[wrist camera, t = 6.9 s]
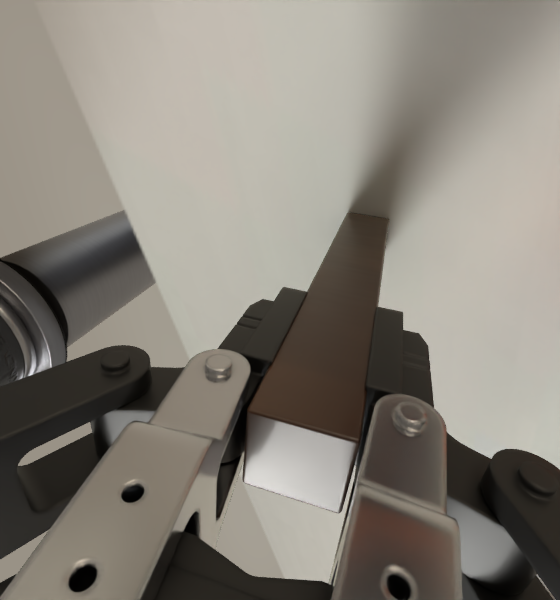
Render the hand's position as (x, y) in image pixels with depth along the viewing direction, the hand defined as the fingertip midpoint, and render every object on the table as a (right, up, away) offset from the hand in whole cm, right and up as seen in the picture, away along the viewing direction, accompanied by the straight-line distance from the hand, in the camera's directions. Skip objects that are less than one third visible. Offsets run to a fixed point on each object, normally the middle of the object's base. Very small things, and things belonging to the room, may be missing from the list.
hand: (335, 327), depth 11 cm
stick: (+2, +4, +8) cm, 9 cm away
